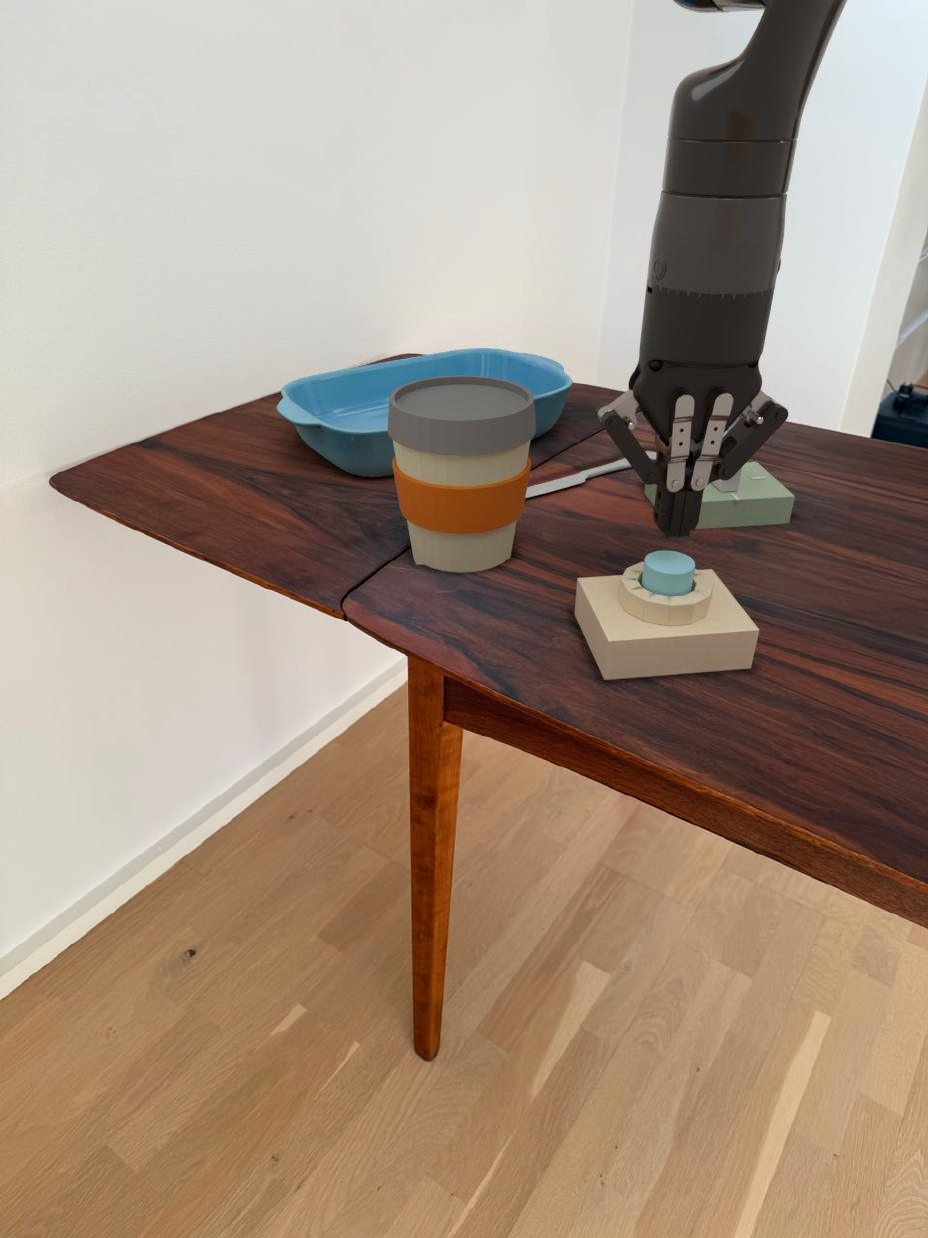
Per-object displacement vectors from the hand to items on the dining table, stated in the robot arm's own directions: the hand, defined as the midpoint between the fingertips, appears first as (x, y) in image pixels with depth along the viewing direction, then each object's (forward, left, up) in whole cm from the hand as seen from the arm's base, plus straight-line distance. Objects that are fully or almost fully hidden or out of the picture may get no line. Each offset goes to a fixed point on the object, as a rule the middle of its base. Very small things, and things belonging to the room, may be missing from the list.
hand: (672, 533), depth 60 cm
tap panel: (-14, -24, -10) cm, 29 cm away
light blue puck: (0, 0, -4) cm, 4 cm away
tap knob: (-14, -24, -7) cm, 29 cm away
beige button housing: (0, 0, -10) cm, 10 cm away
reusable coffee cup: (+13, -17, -10) cm, 24 cm away
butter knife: (-2, -33, -10) cm, 35 cm away
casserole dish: (+13, -48, -10) cm, 51 cm away
